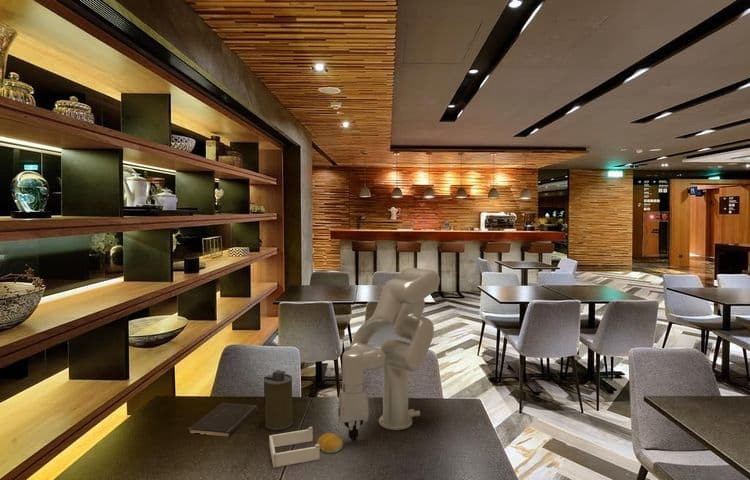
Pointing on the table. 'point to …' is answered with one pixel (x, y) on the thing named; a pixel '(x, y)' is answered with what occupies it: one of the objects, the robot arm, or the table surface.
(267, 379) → the canister
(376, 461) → the table surface
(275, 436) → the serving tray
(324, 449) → the bread roll
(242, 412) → the hardcover book
